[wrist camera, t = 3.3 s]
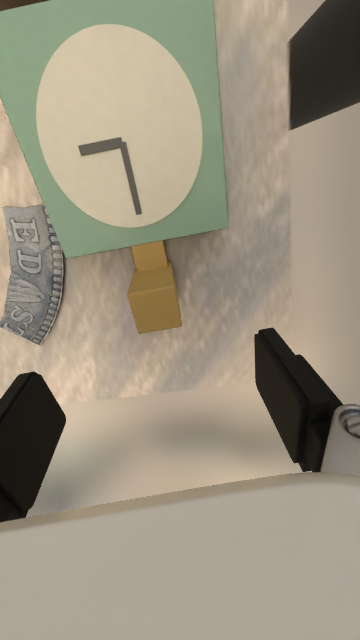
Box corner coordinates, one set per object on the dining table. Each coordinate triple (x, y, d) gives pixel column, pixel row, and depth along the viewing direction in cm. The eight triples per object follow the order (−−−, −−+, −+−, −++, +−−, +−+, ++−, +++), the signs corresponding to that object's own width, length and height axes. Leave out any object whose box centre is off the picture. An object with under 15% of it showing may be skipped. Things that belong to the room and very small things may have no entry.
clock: (206, -14, 13) (232, -131, 8) (228, 285, 21) (248, 314, 16) (-14, 34, 13) (-114, -52, 8) (94, 309, 22) (74, 345, 17)
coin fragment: (4, 186, 17) (0, 186, 16) (75, 213, 18) (73, 213, 17) (-1, 334, 22) (-4, 336, 22) (54, 348, 23) (52, 350, 23)
